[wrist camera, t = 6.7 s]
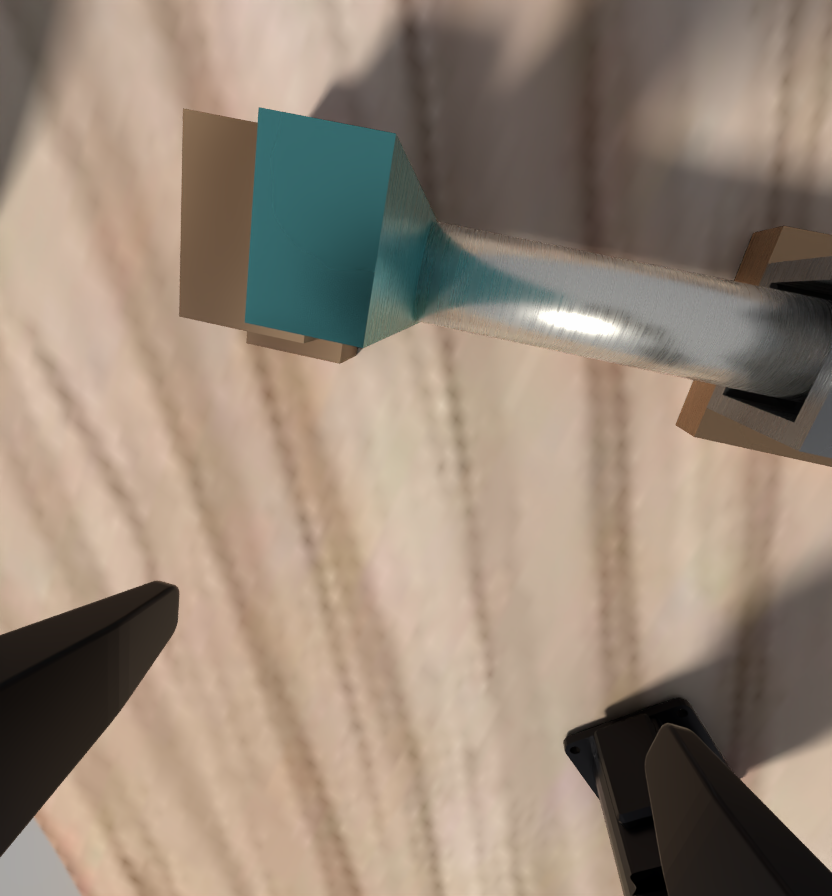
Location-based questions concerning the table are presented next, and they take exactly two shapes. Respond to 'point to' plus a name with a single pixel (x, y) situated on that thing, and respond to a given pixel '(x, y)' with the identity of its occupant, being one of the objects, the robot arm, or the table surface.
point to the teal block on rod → (491, 275)
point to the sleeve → (760, 416)
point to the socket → (226, 233)
